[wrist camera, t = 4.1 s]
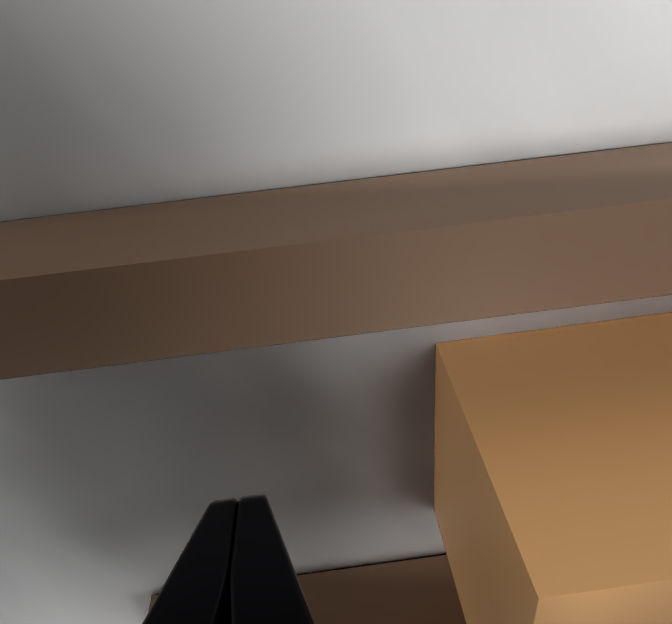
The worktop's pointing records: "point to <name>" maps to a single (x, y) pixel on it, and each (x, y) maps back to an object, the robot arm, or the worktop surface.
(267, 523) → the robot arm
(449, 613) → the slot guide
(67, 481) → the worktop surface
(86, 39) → the worktop surface
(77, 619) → the worktop surface
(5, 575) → the worktop surface
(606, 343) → the block
